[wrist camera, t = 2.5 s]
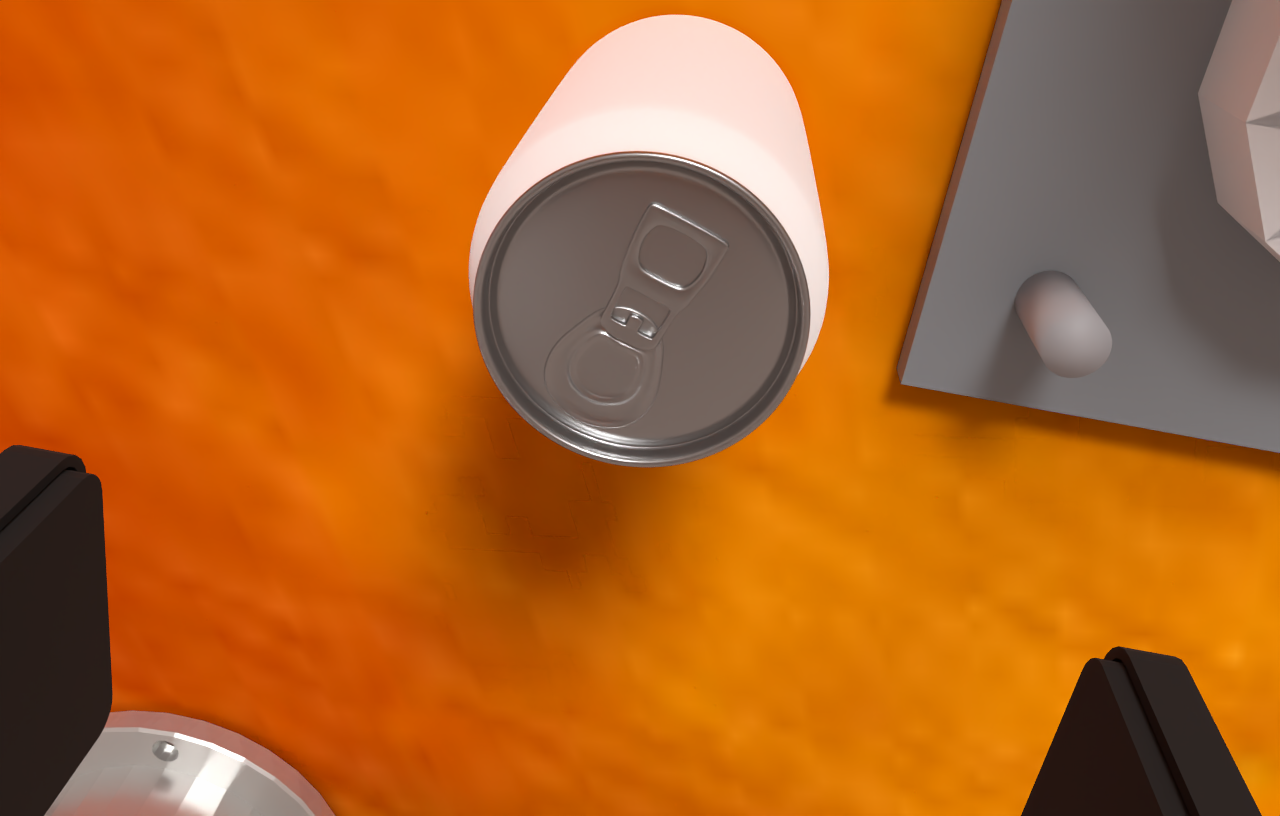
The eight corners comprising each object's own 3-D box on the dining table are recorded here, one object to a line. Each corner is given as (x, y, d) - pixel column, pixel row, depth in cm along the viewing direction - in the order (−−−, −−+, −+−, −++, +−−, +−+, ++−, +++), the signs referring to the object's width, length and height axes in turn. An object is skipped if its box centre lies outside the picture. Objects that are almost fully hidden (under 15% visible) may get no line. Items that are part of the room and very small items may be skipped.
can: (509, 191, 32) (387, 386, 21) (622, -40, 29) (549, 47, 18) (724, 305, 32) (714, 547, 22) (853, 91, 30) (915, 248, 19)
